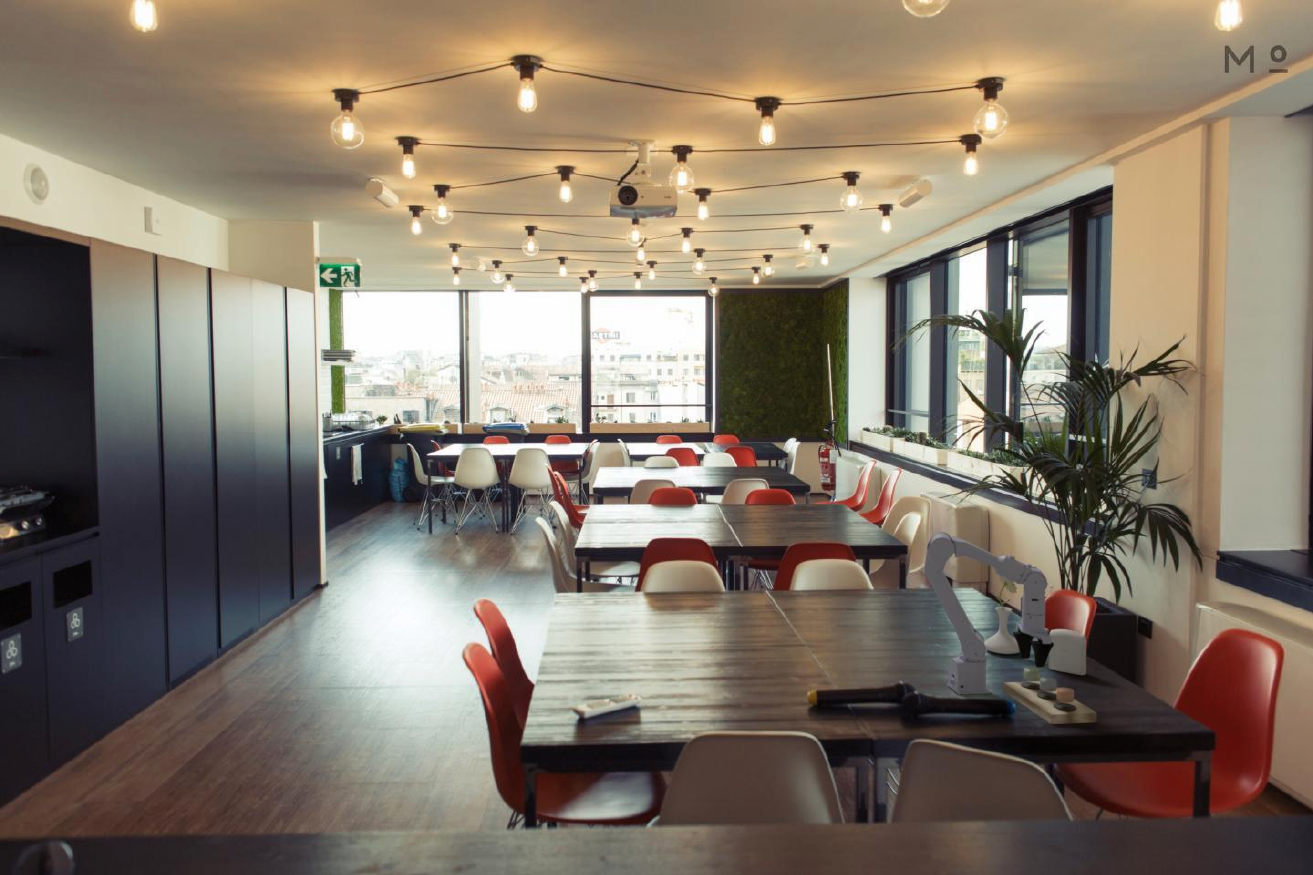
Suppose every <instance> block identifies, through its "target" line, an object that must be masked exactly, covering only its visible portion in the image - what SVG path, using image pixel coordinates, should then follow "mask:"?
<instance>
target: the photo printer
mask: <svg viewBox="0 0 1313 875" xmlns="http://www.w3.org/2000/svg"><path fill="white" fill-rule="evenodd" d="M1049 631H1050V632H1049V634H1048V635H1049V636H1051V642H1053V643H1054V646H1053V648H1052V649H1051V650H1050V652H1049V654H1048V669H1049V670H1053V671H1058V672H1062V673H1068V674H1073V675H1079V676H1085V675H1086V673H1087V672H1086V671H1087V637H1086V635H1085V634H1083V633H1080V632H1077V631H1075V630H1071V629H1067V628H1066V629H1065V628H1055V629H1051V630H1049Z"/></svg>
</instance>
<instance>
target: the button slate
mask: <svg viewBox="0 0 1313 875" xmlns="http://www.w3.org/2000/svg"><path fill="white" fill-rule="evenodd" d="M1039 681H1040V689H1042V690H1045V691H1056V688H1057V679H1056V678H1053V677H1049V676H1048V677H1047V676H1042V677H1041V676H1040V680H1039Z"/></svg>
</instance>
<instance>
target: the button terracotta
mask: <svg viewBox="0 0 1313 875" xmlns="http://www.w3.org/2000/svg"><path fill="white" fill-rule="evenodd" d="M1056 688H1057V697H1056V698H1057V700H1059V701H1063V702H1073V701H1074V699H1075V690H1074V689H1072V688H1069V687H1065V686H1062V687H1056Z"/></svg>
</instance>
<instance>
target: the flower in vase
mask: <svg viewBox="0 0 1313 875" xmlns="http://www.w3.org/2000/svg"><path fill="white" fill-rule="evenodd" d="M997 576H998V580H999V581H1000V582H1001V584H1002V587H1001V589H1000V592H999V595H998V594H997V595H996V598H995V599H997V600H998V601H999V602H1000V604H1001V606H997V607H995V610H996V612H997V614H998V619H999V627H998V631H997V632H996V633H995V634H993V635H992V636H991V637H989V638H987V639H986V640H984V645H985V647H986V650H988V651H990V652H992V653H996V654H1001V655H1013V654H1014V655H1015V654H1018V653H1019V654H1020V651H1019V647H1018V644H1017V641H1016V639H1015V637H1014V636H1012V635H1011V634H1010V633H1009V630H1008V621H1009V615H1010V614H1011V612H1012V611H1013V608H1010V607H1006V606H1004V604H1005V603H1007V602H1010V601H1011V600H1010V599H1007V600H1006V601H1002V598H1001V596H1002V592H1003V589H1004V588H1005V589H1006V591H1008V592H1010V593H1011V594H1017V593H1018V592H1017V589H1018V588H1017V586H1016V583H1015V582H1013V581H1010V580H1008V579H1006V578H1004V577H1002V576H1000V575H998V574H997Z"/></svg>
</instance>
